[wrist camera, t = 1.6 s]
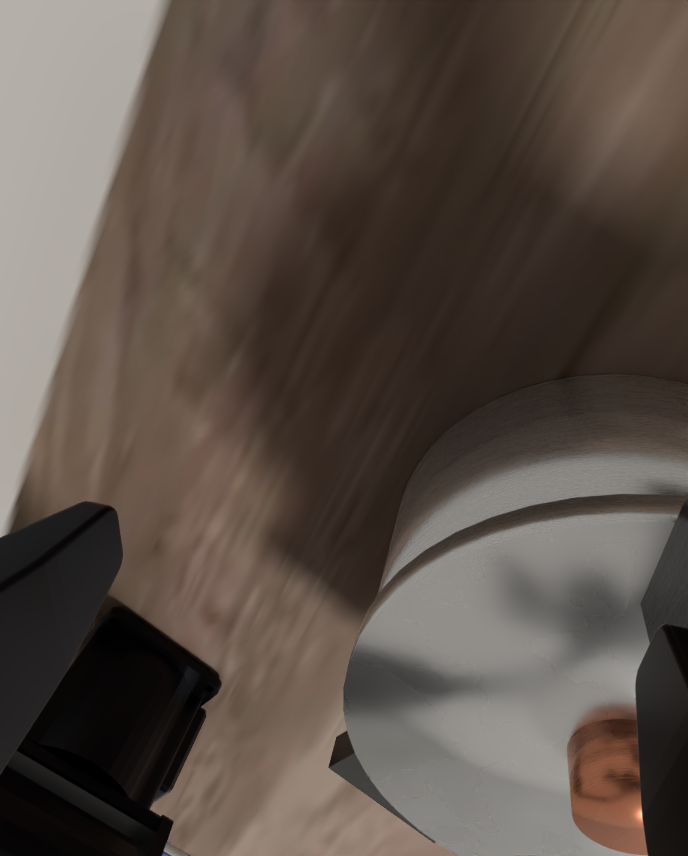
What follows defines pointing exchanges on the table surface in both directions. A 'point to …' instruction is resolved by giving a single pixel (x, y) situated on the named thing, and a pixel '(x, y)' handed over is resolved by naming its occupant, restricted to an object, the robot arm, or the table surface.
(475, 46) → the table surface
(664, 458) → the pressure cooker pot
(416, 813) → the cooker lid
